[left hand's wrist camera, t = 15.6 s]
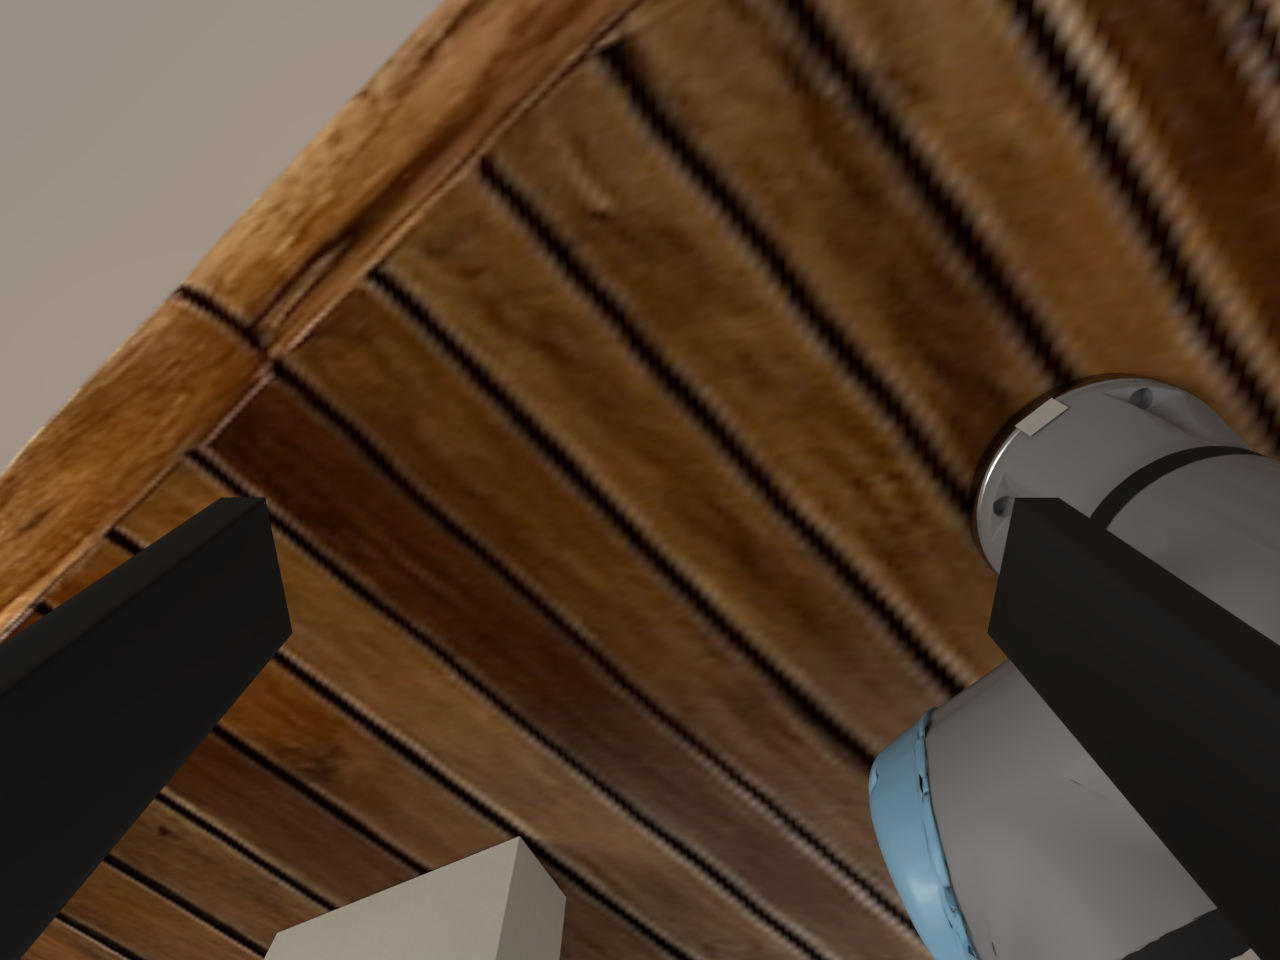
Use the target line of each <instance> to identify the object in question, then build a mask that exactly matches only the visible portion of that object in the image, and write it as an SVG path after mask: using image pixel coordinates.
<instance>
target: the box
mask: <svg viewBox="0 0 1280 960" xmlns="http://www.w3.org/2000/svg"><path fill="white" fill-rule="evenodd" d="M565 904H566V896H565V895H564V894H563V892H562V891H561V890H560V888H559V887H558V886H557V884H556V883H555V882H554V881H553V879H552V878H551V877H550V875H549V874H548V873H547V871H546V870H545V869H544V867H543V866H542V865H541V863H540V862H539V861H538V859H537V858H536V857H535V855H534V854H533V853H532V851H531V850H530V849H529V847H528V846H527V845H526V844H525V842H524V841H523V840H522V838H521V837H520V836H519V837H516V838H514V839H511V840H509V841H506V842H504V843H501V844H499V845H496V846H494V847H491V848H489V849H486V850H484V851H481V852H479V853H476V854H474V855H471V856H469V857H466V858H464V859H461V860H459V861H456V862H454V863H451V864H449V865H446V866H444V867H441V868H439V869H436V870H434V871H431V872H429V873H426V874H424V875H421V876H419V877H416V878H414V879H411V880H409V881H406V882H404V883H401V884H399V885H396V886H393V887H391V888H388V889H386V890H383V891H381V892H378V893H376V894H373V895H371V896H368V897H366V898H363V899H361V900H358V901H356V902H353V903H351V904H348V905H346V906H343V907H341V908H338V909H336V910H333V911H331V912H328V913H326V914H323V915H321V916H318V917H316V918H313V919H311V920H308V921H306V922H303V923H301V924H298V925H296V926H293V927H291V928H288V929H286V930H283V931H281V932H278V933H277V935H276V937H275V939H274V941H273V943H272V945H271V947H270V949H269V951H268V952H267V954H266V956H265V958H264V960H559V959H560V950H561V941H562V931H563V922H564V913H565Z"/></svg>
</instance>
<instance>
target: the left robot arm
mask: <svg viewBox="0 0 1280 960" xmlns="http://www.w3.org/2000/svg"><path fill="white" fill-rule="evenodd" d="M968 516H969V525H970V530H971V534H972V537H973V540H974V543H975V545H976V547H977V549H978V551H979V553H980V554H981V556H982V558H983V559H984V561H985V562H986V563H987V564H988V565H989V567H990V568H991V569H992V570H993V571H994V572H995V573H996V574H997V575H998V576H999V579H998V584H997V588H996V593H995V598H994V603H993V608H992V613H991V618H990V623H989V628H988V634H989V635H990V637H991V638H992V639H993V640H994V641H995V643H996V644H997V645H998V646H999V647H1000V649H1001V650H1002V651H1003V652H1004V653H1005V654H1006V656H1007V657H1008V658H1009V659H1008V660H1007V661H1005V662H1004V663H1002V664H1001V665H1000V666H998V667H997V668H995V669H994V670H992V671H991V672H989V673H988V674H987V675H985V676H984V677H982V678H981V679H979V680H978V681H976V682H975V683H974V684H972V685H971V686H969V687H968V688H966V689H965V690H963V691H962V692H960V693H959V694H958V695H956V696H955V697H953V698H952V699H950V700H949V701H947V702H946V703H944V704H943V705H941V706H940V707H936V706H934V707H932V708H930V709H928V710H927V711H926V712H924V713H923V714H922V717H921V719H920V721H919V722H917V723H916V724H915V725H914V726H912V727H911V728H910V729H909V730H907V731H906V732H905V733H903V734H902V735H901V736H900V737H898V738H897V739H896V740H895V741H893V742H892V743H891V744H890V745H888V746H887V747H886V748H884V749H883V750H882V751H881V752H880V754H879V755H878V756H877V758H876V759H875V761H874V763H873V765H872V768H871V772H870V779H869V795H870V803H869V804H870V810H871V816H872V821H873V825H874V829H875V833H876V836H877V839H878V843H879V846H880V849H881V852H882V855H883V857H884V860H885V863H886V866H887V868H888V871H889V873H890V876H891V878H892V880H893V883H894V885H895V887H896V890H897V892H898V894H899V896H900V898H901V900H902V902H903V905H904V907H905V909H906V911H907V913H908V915H909V917H910V918H911V920H912V922H913V924H914V926H915V928H916V930H917V932H918V934H919V935H920V937H921V939H922V941H923V942H924V944H925V946H926V947H927V949H928V951H929V952H930V954H931V955H932V957H933V958H934V959H935V960H1280V461H1278V460H1275V459H1272V458H1269V457H1267V456H1264V455H1261V454H1259V453H1256V452H1255V451H1254V450H1253V449H1252V448H1251V447H1250V446H1249V445H1248V444H1247V443H1246V442H1245V441H1244V440H1243V439H1242V438H1241V437H1240V436H1239V435H1238V434H1237V433H1236V432H1235V431H1234V430H1233V429H1232V428H1231V427H1230V426H1229V425H1228V424H1227V423H1226V422H1225V421H1224V420H1223V419H1222V418H1221V417H1220V416H1219V415H1218V414H1217V413H1216V412H1215V411H1214V410H1213V409H1212V408H1211V407H1209V406H1208V405H1207V404H1206V403H1204V402H1203V401H1202V400H1200V399H1199V398H1198V397H1196V396H1195V395H1193V394H1192V393H1190V392H1188V391H1186V390H1184V389H1182V388H1179V387H1177V386H1174V385H1172V384H1168V383H1165V382H1162V381H1159V380H1156V379H1152V378H1149V377H1145V376H1140V375H1134V374H1120V373H1116V374H1102V375H1095V376H1090V377H1085V378H1081V379H1078V380H1075V381H1072V382H1069V383H1066V384H1064V385H1061V386H1059V387H1056V388H1054V389H1052V390H1050V391H1048V392H1047V393H1045V394H1043V395H1041V396H1040V397H1038V398H1036V399H1035V400H1033V401H1032V402H1030V403H1029V404H1028V405H1026V406H1025V407H1024V408H1022V409H1021V410H1020V411H1019V412H1018V413H1017V414H1015V415H1014V416H1013V417H1012V418H1011V419H1010V420H1009V421H1008V422H1007V423H1006V424H1005V425H1004V426H1003V427H1002V428H1001V430H1000V431H999V432H998V433H997V435H996V436H995V437H994V438H993V440H992V441H991V443H990V444H989V446H988V447H987V449H986V451H985V452H984V454H983V456H982V458H981V460H980V462H979V464H978V466H977V469H976V471H975V474H974V477H973V480H972V484H971V488H970V494H969V502H968ZM291 634H292V628H291V623H290V618H289V613H288V608H287V603H286V598H285V593H284V589H283V584H282V579H281V574H280V569H279V564H278V559H277V554H276V549H275V544H274V539H273V534H272V529H271V524H270V519H269V515H268V510H267V505H266V500H265V498H220V499H218V500H217V501H215V502H214V503H212V504H211V505H209V506H208V507H206V508H205V509H203V510H202V511H200V512H199V513H197V514H196V515H194V516H193V517H192V518H190V519H189V520H187V521H186V522H184V523H183V524H181V525H180V526H178V527H177V528H175V529H174V530H172V531H171V532H169V533H168V534H166V535H165V536H163V537H162V538H160V539H159V540H157V541H156V542H154V543H153V544H151V545H150V546H148V547H147V548H145V549H144V550H142V551H141V552H139V553H138V554H136V555H135V556H133V557H132V558H130V559H129V560H127V561H126V562H124V563H123V564H121V565H120V566H118V567H117V568H115V569H114V570H112V571H111V572H109V573H108V574H106V575H105V576H103V577H102V578H100V579H99V580H97V581H96V582H94V583H93V584H91V585H90V586H88V587H87V588H85V589H84V590H83V591H81V592H80V593H78V594H77V595H75V596H74V597H72V598H71V599H69V600H68V601H66V602H65V603H63V604H62V605H60V606H59V607H57V608H56V609H54V610H53V611H51V612H50V613H48V614H47V615H45V616H44V617H42V618H41V619H39V620H38V621H36V622H35V623H33V624H32V625H30V626H29V627H27V628H26V629H24V630H23V631H21V632H20V633H18V634H17V635H15V636H14V637H12V638H11V639H9V640H8V641H6V642H5V643H3V644H2V645H0V960H20V958H21V957H22V956H23V955H24V954H25V952H26V951H27V950H28V949H29V948H30V946H31V945H32V944H33V943H34V942H35V940H36V939H37V938H38V937H39V936H40V934H41V933H42V932H43V931H44V930H45V929H46V927H47V926H48V925H49V924H50V923H51V921H52V920H53V919H54V918H55V917H56V915H57V914H58V913H59V912H60V911H61V909H62V908H63V907H64V906H65V905H66V903H67V902H68V901H69V900H70V899H71V897H72V896H73V895H74V894H75V893H76V891H77V890H78V889H79V888H80V887H81V885H82V884H83V883H84V882H85V881H86V879H87V878H88V877H89V876H90V875H91V873H92V872H93V871H94V870H95V869H96V867H97V866H98V865H99V864H100V863H101V862H102V860H103V859H104V858H105V857H106V856H107V854H108V853H109V852H110V851H111V850H112V848H113V847H114V846H115V845H116V844H117V842H118V841H119V840H120V839H121V838H122V836H123V835H124V834H125V833H126V832H127V830H128V829H129V828H130V827H131V826H132V824H133V823H134V822H135V821H136V820H137V818H138V817H139V816H140V815H141V814H142V812H143V811H144V810H145V809H146V808H147V806H148V805H149V804H150V803H151V802H152V800H153V799H154V798H155V797H156V796H157V794H158V793H159V792H160V791H161V790H162V789H163V787H164V786H165V785H166V784H167V783H168V781H169V780H170V779H171V778H172V777H173V775H174V774H175V773H176V772H177V771H178V769H179V768H180V767H181V766H182V765H183V763H184V762H185V761H186V760H187V759H188V757H189V756H190V755H191V754H192V753H193V751H194V750H195V749H196V748H197V747H198V745H199V744H200V743H201V742H202V741H203V739H204V738H205V737H206V736H207V735H208V733H209V732H210V731H211V730H212V729H213V727H214V726H215V725H216V724H217V723H218V722H219V720H220V719H221V718H222V717H223V716H224V714H225V713H226V712H227V711H228V710H229V708H230V707H231V706H232V705H233V704H234V702H235V701H236V700H237V699H238V698H239V696H240V695H241V694H242V693H243V692H244V690H245V689H246V688H247V687H248V686H249V684H250V683H251V682H252V681H253V680H254V678H255V677H256V676H257V675H258V674H259V672H260V671H261V670H262V669H263V668H264V666H265V665H266V664H267V663H268V662H269V660H270V659H271V658H272V657H273V656H274V654H275V653H276V652H277V651H278V650H279V649H280V647H281V646H282V645H283V644H284V643H285V641H286V640H287V639H288V638H289V637H290V635H291Z"/></svg>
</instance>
